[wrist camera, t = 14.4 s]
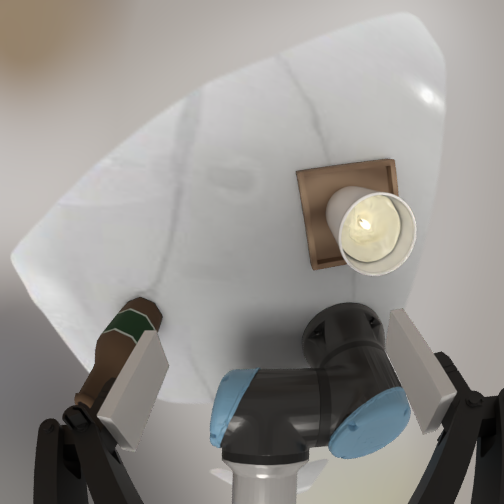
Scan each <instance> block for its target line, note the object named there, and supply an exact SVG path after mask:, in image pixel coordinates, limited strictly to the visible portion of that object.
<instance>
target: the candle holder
mask: <svg viewBox="0 0 504 504" xmlns="http://www.w3.org/2000/svg"><path fill="white" fill-rule="evenodd" d="M326 221H327V224H328V227H329V229H330V231H331V233H332V235H333V237H334V239H335V241H336V243H337V245H338V247H339V249H340V252H341V254H342V256H343V258H344V260H345V261H346V263H347V264H348V265H349V266H350V267H351V268H352V269H353V270H355V271H357V272H358V273H361V274H363V275H367V276H381V275H385V274H388V273H390V272H392V271H394V270H396V269H397V268H398V267H400V266H401V265H402V264H403V263H404V262H405V261H406V260H407V258H408V257H409V255H410V254H411V252H412V250H413V247H414V244H415V241H416V235H417V226H416V220H415V217H414V214H413V212H412V210H411V209H410V207H409V206H408V204H407V203H406V202H405V201H404V200H402V199H401V198H400V197H398V196H396V195H394V194H391V193H387V192H380V191H377V190H373V189H368V188H364V187H360V186H347V187H343V188H341V189H339V190H338V191H336V192H335V193H334V194H333V195H332V196H331V198H330V199H329V201H328V204H327V207H326Z"/></svg>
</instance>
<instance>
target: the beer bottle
mask: <svg viewBox="0 0 504 504" xmlns="http://www.w3.org/2000/svg"><path fill="white" fill-rule="evenodd" d="M161 320H162V315H161V313H160V312H159V310H158V308H157V307H156V305H155V303H153V302H150V301H148V300H146V299H144V298H141V297H139V298H137V299H134V300H132V301H129V302H128V303H127V304H126V305H125V306H124V307H123V308H122V309H121V310H120V311H119V313H118V314H117V315H116V316H115V318H114V319H113V320H112V321H111V323H110V324H109V325H108V326H107V328H106V329H105V330H104V331H103V333H102V334H101V335H100V337H99V339H98V340H97V344H96V349H95V364H94V367H93V369H92V371H91V372H90V374H89V376H88V378H87V380H86V382H85V383H84V385H83V387H82V388H81V390H80V392H79V393H76V395H75V404H76V405H81V406H82V407H84V408H85V410H86V411H87V413H88V412H89V410H90V408H91V406H92V405H93V403H94V401H95V399H96V398H97V397H98V394H99V392H101V389H102V387H103V386H104V384H105V383H106V382H107V381H108V380H109V379H110V378H111V377H114V378H117V377H118V375H119V374H120V372H121V370H122V368H123V367H124V365H125V363H126V362H127V360H128V358H129V356H130V355H131V353H132V351H133V349H134V348H135V346H136V344H137V343H138V341H139V339H140V338H141V336H142V334H143V333H144V331H150V330H156V331H157V332H158V330H159V327H160V324H161Z"/></svg>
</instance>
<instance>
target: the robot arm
mask: <svg viewBox="0 0 504 504" xmlns="http://www.w3.org/2000/svg"><path fill="white" fill-rule="evenodd" d="M302 346H303V352H304V356H305V359H306V361H307V363H308V364H309V365H310V367H311V368H303V369H261V368H256V369H236V370H232V371H229V372H228V373H227V374H226V375H225V376H224V377H223V378H222V380H221V382H220V385H219V387H218V390H217V393H216V397H215V400H214V404H213V409H212V415H211V421H210V442H211V444H212V445H213V446H216V447H217V448H221V447H222V461H223V462H224V463H226V465H228V466H229V467H230V468H231V469H232V471H233V484H232V504H296V492H297V472H298V470H299V469H300V468H301V467H302V466H303V465H305V464H306V463H307V462H308V461H309V448H311V447H321V446H328V447H329V451H330V452H331V453H332V454H333V455H334V456H335V457H338V458H340V457H341V458H343V459H352V458H358V457H362V456H365V455H368V454H370V453H373V452H375V451H377V450H379V449H381V448H383V447H385V446H386V445H387V444H389V443H390V442H392V441H393V440H394V439H395V438H396V437H398V436H399V435H400V434H401V432H402V431H403V430H404V429H405V427H406V426H407V424H408V422H409V419H410V414H411V410H410V406H409V403H408V400H409V402H410V404H411V407H412V409H413V411H414V414H415V416H416V418H417V421H418V423H419V426H420V428H421V431H422V433H423V435H424V434H427V433H430V432H433V431H436V430H437V429H438V427H439V426H440V424H441V423H442V425H443V427H444V430H443V431H442V433H441V435H440V436H439V438H438V439H437V441H438V443H437V446H436V448H435V451H434V453H433V455H432V458H431V460H430V462H429V464H428V466H427V468H426V470H425V472H424V474H423V476H422V478H421V480H420V483H419V484H418V486H417V488H416V490H415V492H414V493H413V495H412V497H411V499H410V501H409V503H408V504H454V502H455V499H456V497H457V495H458V492H459V490H460V488H461V485H462V483H463V480H464V477H465V475H466V472H467V469H468V466H469V463H470V460H471V457H472V454H473V451H474V448H475V444H476V441H477V450H476V465H475V476H474V485H473V492H472V499H471V504H504V388H503V389H502V390H501V391H500V393H499V395H498V396H490V397H484V396H483V395H482V394H481V393H479V392H477V391H471V390H470V388H469V387H468V385H467V383H466V382H465V380H464V379H463V377H462V376H461V374H460V373H459V371H457V368H456V366H455V365H454V363H453V362H452V360H451V359H450V358H449V357H448V356H447V355H445V354H444V353H443V352H438V353H433V352H432V350H431V349H430V347H429V346H428V344H427V343H426V341H425V340H424V338H423V337H422V335H421V334H420V332H419V331H418V330H417V328H416V327H415V325H414V324H413V322H412V321H411V320H410V318H409V317H408V315H407V314H406V312H405V311H404V309H403V308H402V309H396V310H391V312H390V319H389V326H388V333H387V339H386V345H385V338H384V329H383V325H382V323H381V321H380V319H379V318H378V316H377V315H376V313H375V312H374V311H373V310H372V309H370V308H369V307H367V306H365V305H362V304H357V303H343V304H338V305H335V306H332V307H330V308H327V309H325V310H324V311H322V312H321V313H319V314H318V315H317V316H315V317H314V318H313V319H312V320H311V322H310V323H309V324H308V326H307V327H306V329H305V332H304V334H303V339H302ZM385 350H386V352H387V354H388V356H389V358H390V360H391V363H392V364H393V366H394V369H395V371H396V373H397V375H398V377H399V379H398V377H397V375H396V373H395V372H394V369H393V367H392V365H391V363H390V361H389V359H388V357H387V355H386V353H385ZM168 368H169V364H168V361H167V358H166V356H165V353H164V350H163V348H162V345H161V342H160V339H159V337H158V334H157V331H156V330H150V331H144V333H143V334H142V336H141V338H140V339H139V341H138V343H137V344H136V346H135V348H134V349H133V351H132V353H131V355H130V356H129V358H128V360H127V362H126V363H125V365H124V367H123V368H122V370H121V372H120V374H119V375H118V377H117V378H114V377H111V378H110V379H109V380H108V381H107V382H106V383H105V384H104V386H103V387H102V389H101V392H99V394H98V397H97V398H96V399H95V401H94V403H93V405H92V406H91V408H90V410H89V412H88V413H87V411H86V410H85V408H84V407H82V406H81V405H74V406H71V407H69V408H67V409H66V410H65V412H64V414H63V417H62V419H63V421H64V422H65V423H66V424H67V425H60V424H59V423H58V421H57V420H55V419H46V420H45V421H43V422H42V423H41V425H40V427H39V431H38V439H37V447H36V457H35V469H34V495H33V496H34V497H33V499H34V500H33V503H34V504H88V495H87V485H88V488H89V491H90V493H91V496H92V499H93V501H94V504H144V503H143V501H142V500H141V498H140V496H139V495H138V493H137V491H136V489H135V487H134V485H133V483H132V481H131V479H130V477H129V475H128V473H127V471H126V469H125V467H124V465H123V462H122V461H121V458H120V456H119V454H118V452H117V450H116V449H115V447H116V445H117V443H118V444H119V446H120V447H121V448H122V449H124V450H129V451H134V452H136V450H137V447H138V445H139V442H140V439H141V437H142V434H143V431H144V429H145V426H146V424H147V421H148V418H149V416H150V413H151V411H152V408H153V406H154V403H155V400H156V398H157V395H158V393H159V390H160V388H161V385H162V383H163V380H164V378H165V375H166V373H167V370H168ZM399 380H400V381H399ZM400 382H401V383H400ZM401 384H402V385H401ZM402 386H403V387H402ZM406 395H407V397H406ZM407 398H408V400H407ZM86 483H87V484H86Z"/></svg>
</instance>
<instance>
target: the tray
mask: <svg viewBox="0 0 504 504" xmlns="http://www.w3.org/2000/svg"><path fill="white" fill-rule="evenodd" d="M296 175H297V180H298V186H299V192H300V197H301V203H302V209H303V215H304V222H305V228H306V235H307V241H308V248H309V255H310V262H311V266H312V269H313V270H318V269H324V268H329V267H335V266H340V265H345V264H347V263H346V261H345V260H344V258H343V256H342V254H341V252H340V249H339V247H338V245H337V243H336V241H335V239H334V237H333V235H332V233H331V231H330V229H329V227H328V224H327V221H326V207H327V204H328V201H329V199H330V198H331V196H332V195H333V194H334V193H335V192H336V191H338V190H339V189H341V188H343V187H347V186H360V187H364V188H368V189H373V190H377V191H380V192H387V193H391V194H394V195H396V196H398V197H399V195H398V185H397V175H396V167H395V160H394V159H382V160H373V161H364V162H356V163H348V164H341V165H334V166H327V167H320V168H313V169H307V170H301V171H296Z"/></svg>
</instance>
